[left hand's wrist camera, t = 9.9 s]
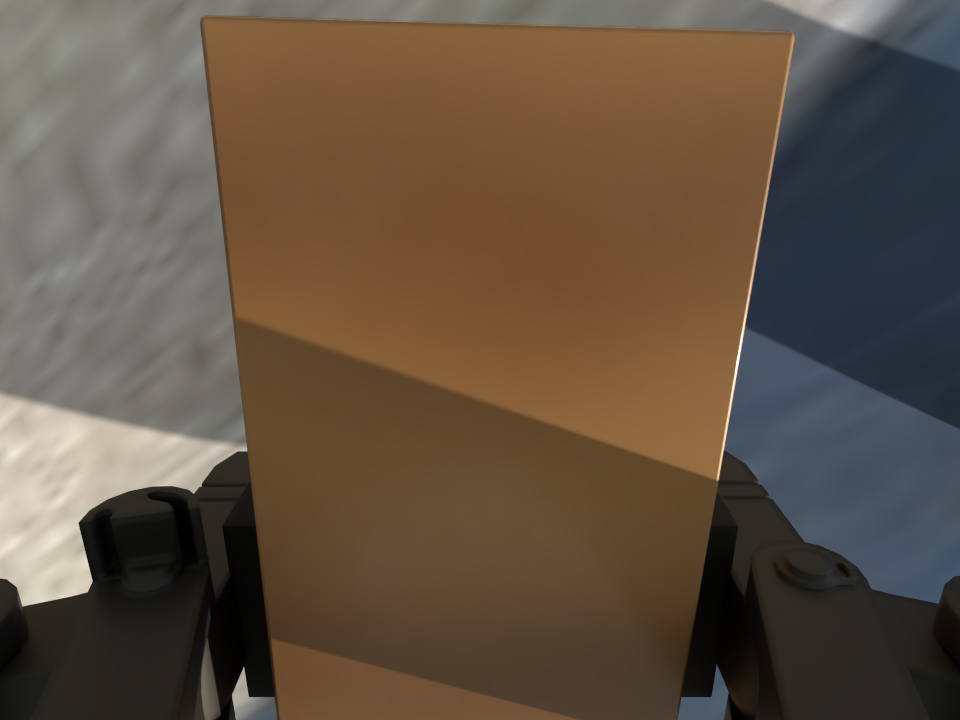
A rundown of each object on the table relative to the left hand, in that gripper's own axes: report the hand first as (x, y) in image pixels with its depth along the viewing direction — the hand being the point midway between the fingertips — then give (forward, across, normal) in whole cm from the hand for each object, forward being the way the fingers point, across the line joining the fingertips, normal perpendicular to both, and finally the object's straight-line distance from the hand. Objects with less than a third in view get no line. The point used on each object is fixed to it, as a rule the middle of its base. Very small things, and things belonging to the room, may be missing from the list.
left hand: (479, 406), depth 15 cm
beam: (+1, -1, -29) cm, 29 cm away
